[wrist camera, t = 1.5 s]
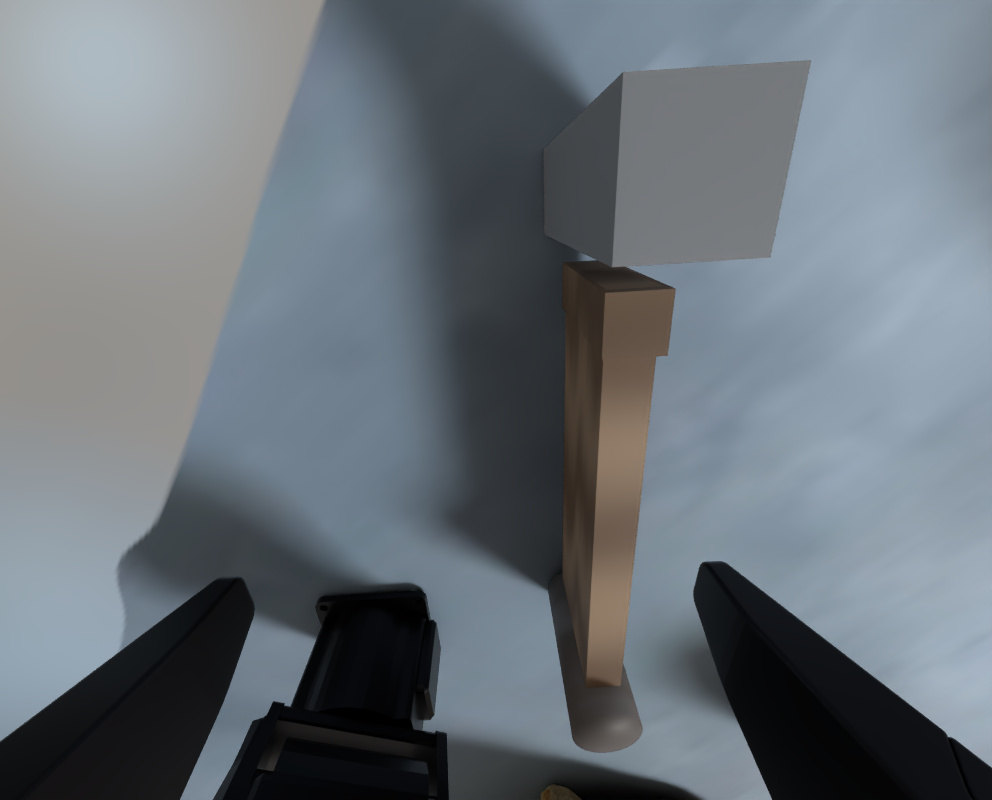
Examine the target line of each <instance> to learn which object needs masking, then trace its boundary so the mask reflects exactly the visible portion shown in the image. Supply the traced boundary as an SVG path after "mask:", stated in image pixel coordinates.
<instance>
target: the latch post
mask: <svg viewBox="0 0 992 800" xmlns="http://www.w3.org/2000/svg"><path fill="white" fill-rule="evenodd" d="M810 63H811V60H807V61H791V62H775V63H760V64H744V65H728V66H712V67H696V68H680V69H664V70H649V71H633V72H623V73H622V74H621V75H620V76H619V77H618V78H617V79H616V80H615V81H614V82H612V83H611V84H610V85H609V86H608V87H607V88H606V89H605V90H604V91H603V92H602V93H601V94H600V95H599V96H598V97H597V98H596V99H595V100H594V101H593V102H592V103H591V104H590V105H589V106H588V107H587V108H585V109H584V110H583V111H582V112H581V113H580V114H579V115H578V116H577V117H576V118H575V119H574V120H573V121H572V122H571V123H570V124H569V125H568V126H567V127H566V128H565V129H564V130H563V131H562V132H561V133H560V134H559V135H557V136H556V137H555V138H554V139H553V140H552V141H551V142H550V143H549V144H548V145H547V146H546V147H545V148H544V149H543V163H544V235H546V236H548V237H550V238H552V239H554V240H556V241H558V242H560V243H562V244H565V245H567V246H569V247H571V248H573V249H575V250H577V251H579V252H581V253H583V254H585V255H587V256H590V257H592V258H594V259H596V260H598V261H600V262H602V263H604V264H606V265H608V266H610V267H626V266H642V265H658V264H674V263H690V262H706V261H722V260H738V259H754V258H770V257H771V252H772V247H773V242H774V237H775V232H776V228H777V223H778V218H779V213H780V208H781V203H782V199H783V194H784V189H785V184H786V179H787V174H788V170H789V165H790V160H791V155H792V150H793V145H794V141H795V136H796V131H797V126H798V121H799V116H800V112H801V107H802V102H803V97H804V92H805V87H806V83H807V78H808V73H809V68H810Z"/></svg>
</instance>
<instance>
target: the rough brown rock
mask: <svg viewBox="0 0 992 800" xmlns="http://www.w3.org/2000/svg"><path fill="white" fill-rule="evenodd" d="M540 800H582V799H580V798H579V797H578V796H577V795H576V794H574V793H573V792H572V791H571V790H569V789H567V788H565V787H562V786H559V785H555V784H552V785H549V786H548V787H547V788H546V789H545V790H544V791H543V792H542V793H541V798H540Z"/></svg>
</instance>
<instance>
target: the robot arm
mask: <svg viewBox="0 0 992 800" xmlns="http://www.w3.org/2000/svg"><path fill="white" fill-rule="evenodd" d="M693 596H694V602H695V605H696V608H697V611H698V614H699V617H700V620H701V623H702V626H703V629H704V632H705V635H706V638H707V641H708V644H709V647H710V651H711V654H712V657H713V660H714V663H715V666H716V669H717V672H718V674H719V677H720V680H721V683H722V686H723V688H724V691H725V693H726V695H727V698H728V700H729V702H730V705H731V707H732V709H733V712H734V714H735V716H736V718H737V721H738V723H739V725H740V728H741V730H742V732H743V734H744V737H745V739H746V741H747V743H748V746H749V748H750V750H751V753H752V755H753V757H754V759H755V762H756V764H757V766H758V768H759V771H760V773H761V775H762V778H763V780H764V782H765V784H766V787H767V789H768V791H769V793H770V796H771V798H772V800H992V767H990V766H989V765H988V764H986V763H985V762H984V761H982V760H981V759H980V758H979V757H977V756H976V755H975V754H973V753H972V752H971V751H969V750H968V749H967V748H966V747H964V746H963V745H962V744H960V743H959V742H958V741H957V740H955V739H954V738H952V737H948V736H947V734H946V733H945V732H944V731H943V730H942V729H941V728H939V727H938V726H937V725H936V724H934V723H933V722H932V721H930V720H929V719H928V718H926V717H925V716H924V715H923V714H921V713H920V712H919V711H917V710H916V709H915V708H913V707H912V706H911V705H910V704H908V703H907V702H906V701H904V700H903V699H902V698H901V697H899V696H898V695H897V694H895V693H894V692H893V691H891V690H890V689H889V688H888V687H886V686H885V685H884V684H882V683H881V682H880V681H879V680H877V679H876V678H875V677H873V676H872V675H871V674H869V673H868V672H867V671H866V670H864V669H863V668H862V667H860V666H859V665H858V664H856V663H855V662H854V661H853V660H851V659H850V658H849V657H847V656H846V655H845V654H844V653H842V652H841V651H840V650H838V649H837V648H836V647H834V646H833V645H832V644H831V643H829V642H828V641H827V640H825V639H824V638H823V637H822V636H820V635H819V634H818V633H816V632H815V631H814V630H812V629H811V628H810V627H809V626H807V625H806V624H805V623H803V622H802V621H801V620H799V619H798V618H797V617H796V616H794V615H793V614H792V613H790V612H789V611H788V610H787V609H785V608H784V607H783V606H781V605H780V604H779V603H777V602H776V601H775V600H774V599H772V598H771V597H770V596H768V595H767V594H766V593H764V592H763V591H762V590H761V589H759V588H758V587H757V586H755V585H754V584H753V583H752V582H750V581H749V580H748V579H746V578H745V577H744V576H742V575H741V574H740V573H739V572H737V571H736V570H735V569H733V568H732V567H731V566H730V565H728V564H727V563H725V562H722V561H712V562H703V563H702V564H701V565H700V567H699V571H698V575H697V579H696V582H695V586H694V591H693ZM417 599H419V600H417ZM315 607H316V611H317V614H318V617H319V620H320V623H321V626H322V627H321V629H320V632H319V634H318V637H317V639H316V642H315V645H314V647H313V650H312V652H311V655H310V658H309V660H308V663H307V665H306V668H305V670H304V673H303V676H302V678H301V681H300V683H299V686H298V688H297V691H296V694H295V696H294V699H293V701H292V704H291V707H289V706H284V704H285V703H280V702H275V701H273V703H272V705H271V707H270V709H269V712H268V714H267V716H266V715H265V717H263V718H260V719H257V720H254V721H253V722H252V724H251V726H250V728H249V731H248V733H247V735H246V737H245V739H244V742H243V744H242V746H241V748H240V750H239V753H238V755H237V757H236V759H235V761H234V763H233V765H232V767H231V769H230V770H229V772H228V774H227V776H226V777H225V779H224V781H223V783H222V784H221V786H220V788H219V790H218V792H217V793H216V795H215V797H214V799H213V800H449V791H448V761H447V734H446V733H444V732H439V731H436V732H435V733H432V732H426V731H422V728H423V720H431V718H432V717H433V716H434V712H435V702H436V692H437V682H438V672H439V662H440V651H441V647H440V641H439V635H438V629H437V624H436V622H435V621H434V620H431V619H430V613H429V608H428V602H427V596H426V594H425V593H424V592H422V591H403V592H387V593H371V594H355V595H339V596H324V597H321V598H319V599H318V601H317V604H316V606H315ZM254 610H255V608H254V602H253V600H252V597H251V595H250V593H249V590H248V588H247V585H246V583H245V581H244V579H242V578H241V577H221V578H218V579H216V580H215V581H213V582H212V583H210V584H209V585H208V586H206V587H205V588H204V589H202V590H201V591H200V592H198V593H197V594H196V595H194V596H193V597H192V598H190V599H189V600H188V601H186V602H185V603H184V604H182V605H181V606H180V607H178V608H177V609H176V610H174V611H173V612H172V613H170V614H169V615H168V616H166V617H165V618H164V619H162V620H161V621H160V622H158V623H157V624H156V625H154V626H153V627H152V628H150V629H149V630H148V631H146V632H145V633H144V634H142V635H141V636H140V637H138V638H137V639H136V640H135V641H133V642H132V643H131V644H129V645H128V646H127V647H125V648H124V649H123V650H121V651H120V652H119V653H117V654H116V655H115V656H113V657H112V658H111V659H109V660H108V661H107V662H105V663H104V664H103V665H101V666H100V667H99V668H97V669H96V670H95V671H93V672H92V673H91V674H89V675H88V676H87V677H85V678H84V679H83V680H81V681H80V682H79V683H77V684H76V685H75V686H74V687H72V688H71V689H69V690H68V691H67V692H65V693H64V694H63V695H61V696H60V697H59V698H57V699H56V700H55V701H53V702H52V703H51V704H49V705H48V706H47V707H45V708H44V709H43V710H41V711H40V712H39V713H37V714H36V715H35V716H33V717H32V718H31V719H30V720H28V721H27V722H25V723H24V724H23V725H21V726H20V727H19V728H17V729H16V730H15V731H14V732H12V733H11V734H9V735H8V736H7V737H5V738H4V739H3V740H1V741H0V800H180V798H181V796H182V794H183V791H184V789H185V787H186V785H187V782H188V780H189V778H190V776H191V774H192V771H193V769H194V767H195V765H196V763H197V760H198V758H199V756H200V754H201V751H202V749H203V747H204V745H205V743H206V740H207V738H208V736H209V734H210V732H211V729H212V727H213V725H214V723H215V720H216V718H217V716H218V714H219V711H220V709H221V707H222V704H223V702H224V699H225V697H226V694H227V691H228V689H229V686H230V683H231V680H232V677H233V674H234V672H235V669H236V666H237V663H238V660H239V657H240V654H241V651H242V649H243V646H244V643H245V640H246V637H247V634H248V631H249V628H250V626H251V623H252V620H253V616H254Z"/></svg>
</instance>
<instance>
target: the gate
mask: <svg viewBox="0 0 992 800" xmlns="http://www.w3.org/2000/svg"><path fill="white" fill-rule="evenodd" d="M674 298H675V288H673V287H671V286H668V285H666V284H664V283H661V282H659V281H657V280H654V279H652V278H650V277H647V276H645V275H643V274H641V273H638V272H636V271H634V270H631V269H629V268H627V267H610V266H608V265H606V264H604V263H602V262H600V261H598V260H595V261H579V262H563V296H562V308H563V310H564V311H565V312H566V348H565V425H564V502H563V572H562V573H560V574H558V575H557V576H555V577H554V578H553V579H552V580H551V582H550V584H549V587H548V593H549V599H550V605H551V611H552V617H553V623H554V629H555V635H556V641H557V647H558V653H559V659H560V665H561V671H562V677H563V683H564V689H565V695H566V702H567V708H568V714H569V720H570V726H571V732H572V738H573V741H574V742H575V744H576V745H577V746H579V747H580V748H582V749H584V750H587V751H591V752H597V753H606V752H614V751H618V750H621V749H624V748H626V747H628V746H630V745H632V744H633V743H635V742H636V741H637V740H638V739H639V738H640V736H641V734H642V730H643V728H642V724H641V721H640V717H639V714H638V711H637V707H636V704H635V701H634V698H633V694H632V691H631V688H630V684H629V681H628V678H627V674H626V671H625V668H624V665H623V657H624V648H625V639H626V630H627V620H628V611H629V602H630V593H631V583H632V574H633V565H634V556H635V546H636V537H637V528H638V519H639V509H640V500H641V491H642V482H643V473H644V463H645V454H646V445H647V436H648V426H649V417H650V408H651V399H652V389H653V380H654V371H655V362H656V356H668V348H669V339H670V331H671V323H672V314H673V306H674Z"/></svg>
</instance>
